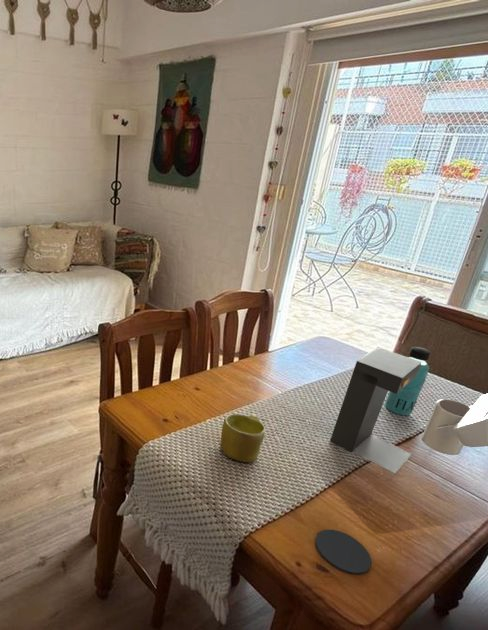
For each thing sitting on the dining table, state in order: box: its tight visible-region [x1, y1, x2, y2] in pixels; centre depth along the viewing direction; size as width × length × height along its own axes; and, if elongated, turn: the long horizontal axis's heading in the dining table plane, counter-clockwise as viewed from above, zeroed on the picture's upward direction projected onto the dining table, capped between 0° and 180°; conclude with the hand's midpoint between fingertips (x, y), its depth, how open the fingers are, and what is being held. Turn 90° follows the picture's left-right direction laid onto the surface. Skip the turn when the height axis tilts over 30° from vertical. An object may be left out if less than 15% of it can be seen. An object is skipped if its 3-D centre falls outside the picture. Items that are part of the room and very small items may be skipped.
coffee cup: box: [420, 399, 470, 456], centre depth 89 cm, size 6×6×9 cm
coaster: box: [314, 528, 372, 575], centre depth 81 cm, size 9×9×1 cm
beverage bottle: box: [384, 346, 431, 416], centre depth 118 cm, size 6×7×20 cm
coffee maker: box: [329, 346, 422, 475], centre depth 102 cm, size 14×12×24 cm
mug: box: [220, 413, 266, 463], centre depth 105 cm, size 12×10×10 cm
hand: (445, 424), depth 89 cm, fingers closed on coffee cup, 6 cm apart
